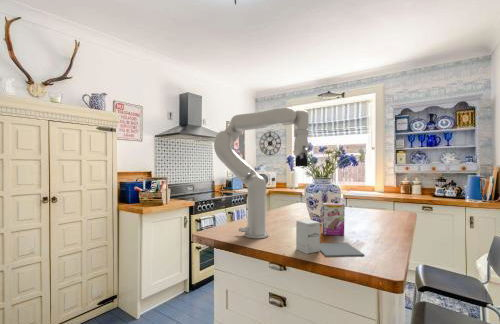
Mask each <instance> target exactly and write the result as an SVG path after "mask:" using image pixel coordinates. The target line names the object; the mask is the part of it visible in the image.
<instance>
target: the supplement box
mask: <svg viewBox="0 0 500 324" xmlns="http://www.w3.org/2000/svg"><path fill="white" fill-rule="evenodd" d="M295 222H296V223H295V224H296V228H295V229H296V230H295V231H296V233H295V235H296V237H295V241H296V242H295V244H296V245H295V246H296V247H295V249H296V250H297V251H299V252H302V253H304V254H306V255H308V254H312V253H318V252H319V253H320V252H321V251H320V243H321V242H320V241H321V222H319V221H316V220H313V219H303V220H296V221H295Z"/></svg>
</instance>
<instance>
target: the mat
mask: <svg viewBox="0 0 500 324" xmlns="http://www.w3.org/2000/svg"><path fill="white" fill-rule="evenodd" d="M319 252H320V253H321V254H322V255H323V256H324V257H326V258H330V257H333V258H334V257H338V258H339V257H365V253H363V252H361V251H360V250H358V249H357V248H356V247H354V246H352V245H351V244H349V243H348V242H320V251H319Z"/></svg>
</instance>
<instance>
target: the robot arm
mask: <svg viewBox="0 0 500 324" xmlns="http://www.w3.org/2000/svg"><path fill="white" fill-rule="evenodd" d="M277 124H281V125H283V126H291V125H292V126H293V137H294V143H293V155H294V156H295V158H294V159H295V167H307V166H308V157H309V156H308V155H309V154H308V152H309V151H308V150H309V146H308V142H309V141H308V140H309V139H308V138H309V112H308V111H307V110H305V109H299V110H295V109H294V108H292V107H282V108H274V109H269V110H268V109H267V110H264V111H259V112H258V111H256V112H251V113H241V114H235V115H233V116H232V117H231V119H230V123H229V124H228V126H227V127H226V128H225V129H224V130H221V131H219V132H217V134H215V137H214V138H215V139H214V140H213V141H214V142H213V148H214V149H213V150H214V152H215V154H216V157H217V158H218V159H219V161H220V162H221V163H222V164H224V165H225V167H226V168H227V169H228V170H230V172H231V173H232V174H233V175H234V177H236V178H237V179H238V180H240V181H241V182H242V184H244V185H245V186H246V187H247V202H246V203H247V225H246V227H245V226H244V227H238V232H241V233H244V236H245V237H246V238H249V239H255V240H256V239H264V238H267V237H269V235H270V234H269V232H268V231H266V225H267V224H266V221H267V220H266V215H267V214H266V211H267V210H266V209H267V208H266V205H267V203H266V198H267V196H266V195H267V181H266V179H265V178H264V177H263V176H262V175H260V174H259V173H257V172H256V170H255V169H253V167H251V166H250V165H249V163H248V162H247V161H245V160H244V159H243V158H242V157H240V156H239V154H238V153H236V151H235V150H234V149H233V148H232V146H233V144H234V143H235V142H236V141H237V139H238V138H239V137H241V135H242V134H243V132H244V131H251V130H257V129H260V130H261V129H265V128H267V127H268V126H272V125H277Z"/></svg>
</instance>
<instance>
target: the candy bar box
mask: <svg viewBox="0 0 500 324" xmlns="http://www.w3.org/2000/svg"><path fill="white" fill-rule="evenodd" d="M345 207H346V206H345V204H343V203H335V202H334V203H330V202H329V203H328V202H322V203H321V234H322V235H323V236H343V237H344V236H345V209H346V208H345Z"/></svg>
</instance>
